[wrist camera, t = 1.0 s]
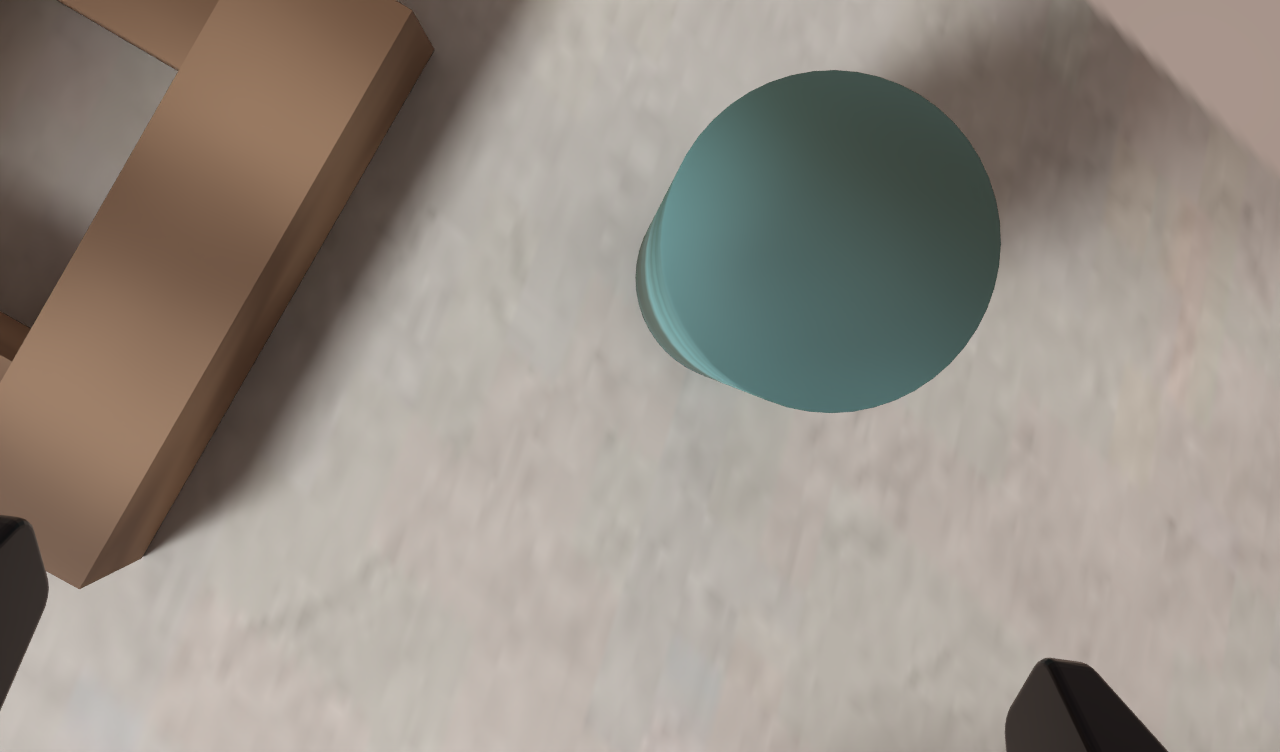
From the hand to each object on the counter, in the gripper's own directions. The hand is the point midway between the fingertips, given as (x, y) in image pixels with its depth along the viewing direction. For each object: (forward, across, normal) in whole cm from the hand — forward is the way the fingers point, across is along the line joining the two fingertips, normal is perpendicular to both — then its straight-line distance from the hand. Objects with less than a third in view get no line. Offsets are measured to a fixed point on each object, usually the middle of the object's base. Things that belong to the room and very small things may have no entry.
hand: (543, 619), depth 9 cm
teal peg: (+16, -3, +5) cm, 17 cm away
